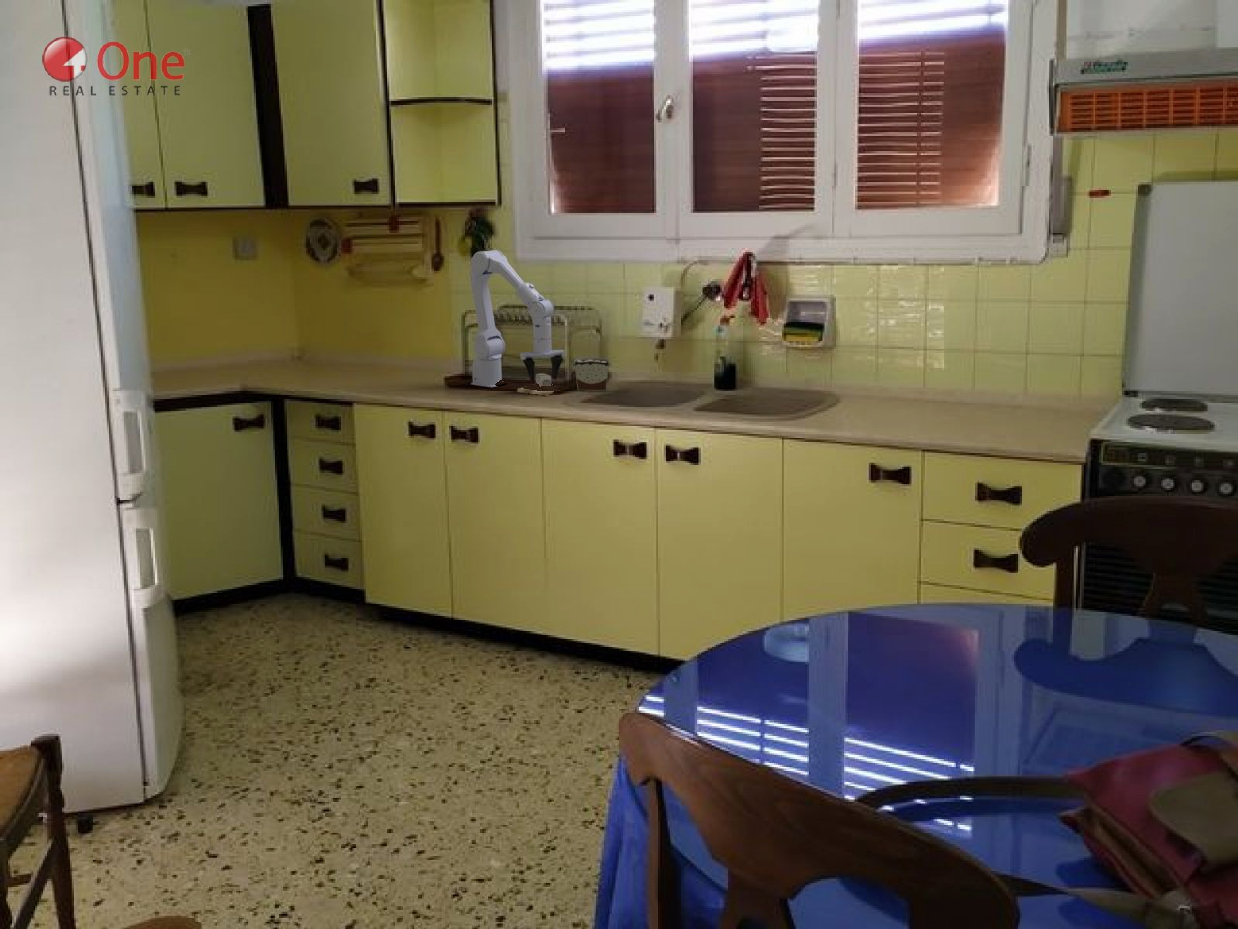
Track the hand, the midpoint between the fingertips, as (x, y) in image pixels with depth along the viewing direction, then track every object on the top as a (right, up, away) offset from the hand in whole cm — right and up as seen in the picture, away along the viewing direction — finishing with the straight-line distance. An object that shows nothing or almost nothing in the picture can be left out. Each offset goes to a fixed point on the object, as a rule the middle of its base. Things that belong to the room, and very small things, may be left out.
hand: (543, 379), depth 379 cm
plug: (0, -3, 0) cm, 3 cm away
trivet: (0, -3, +1) cm, 4 cm away
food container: (+16, -3, +4) cm, 17 cm away
